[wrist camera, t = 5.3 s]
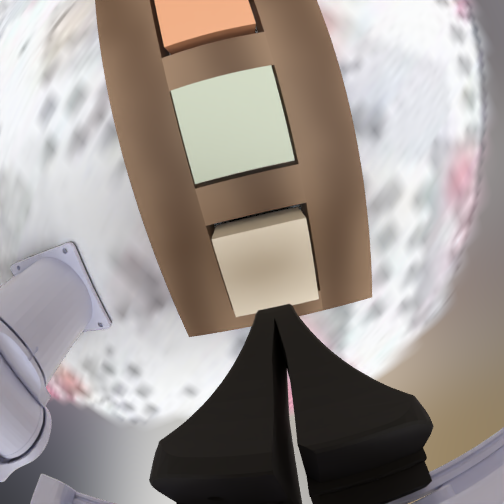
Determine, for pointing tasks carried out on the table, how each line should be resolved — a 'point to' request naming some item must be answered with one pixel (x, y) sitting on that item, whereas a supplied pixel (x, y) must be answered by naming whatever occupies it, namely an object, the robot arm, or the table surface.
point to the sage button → (232, 123)
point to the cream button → (266, 261)
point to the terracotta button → (202, 22)
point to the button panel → (244, 183)
